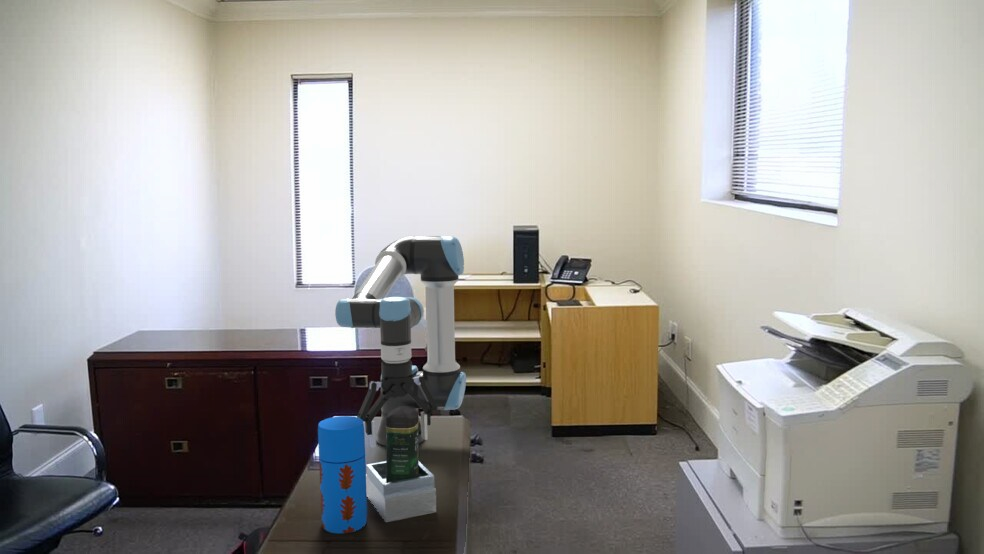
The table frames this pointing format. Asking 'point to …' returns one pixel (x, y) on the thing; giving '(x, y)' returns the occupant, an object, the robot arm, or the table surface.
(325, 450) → the thermos
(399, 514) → the open grey metal box
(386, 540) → the table surface
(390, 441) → the coffee jar
